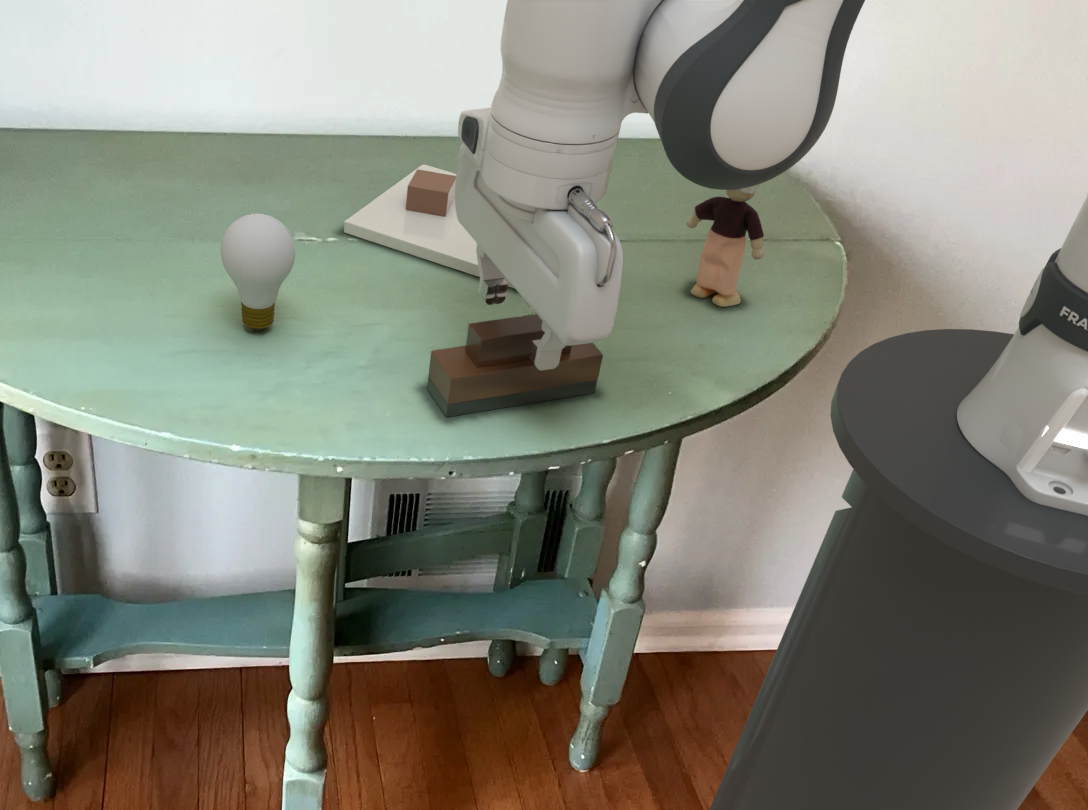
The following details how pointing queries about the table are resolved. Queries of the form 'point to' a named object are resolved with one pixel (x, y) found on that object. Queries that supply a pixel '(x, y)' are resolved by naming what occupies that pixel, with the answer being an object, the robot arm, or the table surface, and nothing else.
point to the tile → (416, 229)
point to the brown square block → (430, 193)
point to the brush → (507, 369)
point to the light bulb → (258, 264)
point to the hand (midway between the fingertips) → (516, 331)
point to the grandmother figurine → (726, 243)
